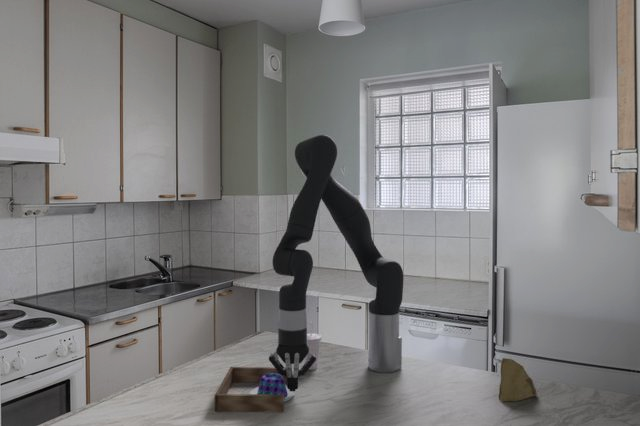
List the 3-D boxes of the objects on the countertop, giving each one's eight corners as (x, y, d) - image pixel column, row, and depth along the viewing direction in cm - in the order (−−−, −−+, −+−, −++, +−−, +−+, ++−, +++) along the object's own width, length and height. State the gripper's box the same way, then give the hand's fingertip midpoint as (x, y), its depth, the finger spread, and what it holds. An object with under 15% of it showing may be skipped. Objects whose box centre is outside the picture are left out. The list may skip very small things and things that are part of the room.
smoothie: (322, 364, 148) (322, 319, 147) (320, 371, 141) (320, 325, 141) (302, 363, 148) (302, 318, 148) (299, 371, 142) (299, 324, 141)
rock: (535, 381, 129) (497, 372, 132) (543, 363, 124) (502, 354, 127) (536, 418, 122) (495, 408, 125) (544, 402, 116) (501, 391, 119)
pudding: (300, 389, 130) (300, 370, 130) (286, 409, 118) (286, 388, 118) (259, 384, 133) (259, 366, 133) (241, 403, 121) (241, 383, 121)
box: (289, 381, 134) (289, 367, 134) (283, 412, 116) (283, 396, 116) (230, 380, 135) (230, 366, 135) (214, 411, 116) (214, 395, 116)
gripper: (318, 321, 128) (318, 384, 129) (269, 321, 128) (269, 384, 129) (317, 329, 120) (317, 396, 121) (265, 329, 121) (265, 396, 121)
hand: (292, 390), depth 125 cm, fingers closed
